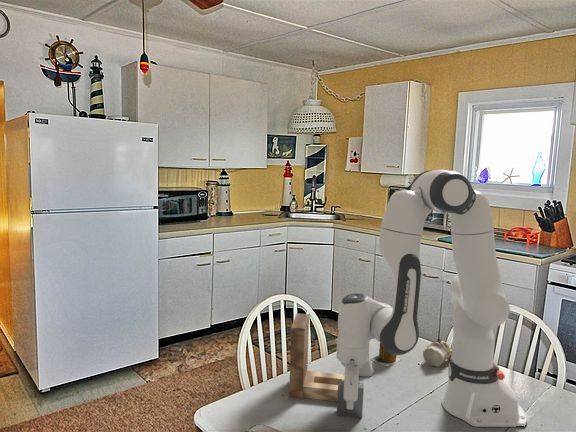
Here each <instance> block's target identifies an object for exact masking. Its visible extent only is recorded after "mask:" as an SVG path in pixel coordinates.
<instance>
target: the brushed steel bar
mask: <svg viewBox="0 0 576 432" xmlns="http://www.w3.org/2000/svg"><path fill="white" fill-rule="evenodd" d="M364 390H365V387H364V382H358V398H357V401H354V404H353V409H352V410H351V409H347V401H346V400H344V397H343V395H344V381H339V382H338V399H337V401H336V403H337V404H336V417H343V418H344V417H345V418H352V419H353V418H354V419H363V407H364V406H363V405H364Z"/></svg>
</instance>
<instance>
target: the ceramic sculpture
mask: <svg viewBox="0 0 576 432" xmlns="http://www.w3.org/2000/svg"><path fill="white" fill-rule="evenodd" d="M451 356H452V350H451V349H450V346H449V344H448V343H447V342H446V341H444V340H442V339H440V338H437V339H436V340H435V339H434V340H433V341H432V342H431V343H430V344H429V345H427V346H426V348H425V349H424V350H423V352H422V357H423V360H424V362H425V363H426V364H427V365H430V366H431V367H437V368H438V367H440V366H441V365H442V364H443V363H444V362H445V361H446V360H447V361H448V360H449V361H450V358H451Z"/></svg>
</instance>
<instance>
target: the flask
mask: <svg viewBox="0 0 576 432" xmlns="http://www.w3.org/2000/svg"><path fill="white" fill-rule="evenodd" d="M369 347H370V344H369ZM370 357H371V356H369V359H368V361H367V362H366V363H364V365H363V366H362V367H361V368H359V376H360V377H362V378H363V377H365V378H366V377H372V376H373V375H374V374H375V371H374V367H373V365H372V360H371V358H370Z"/></svg>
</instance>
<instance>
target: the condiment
mask: <svg viewBox="0 0 576 432" xmlns="http://www.w3.org/2000/svg"><path fill="white" fill-rule="evenodd" d="M370 361H373V362H376V363H377V364H380V365H382V366H385V367H391V365H394V364H396V363H398V362H400V361H401V358H398V357H397V355H392V354H390V353H389V352H387V350H386V349H385V348H384V347H383V346H382V344H381V343H380V342H379V352H378V355H376V356H374V357H371V358H370Z"/></svg>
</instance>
